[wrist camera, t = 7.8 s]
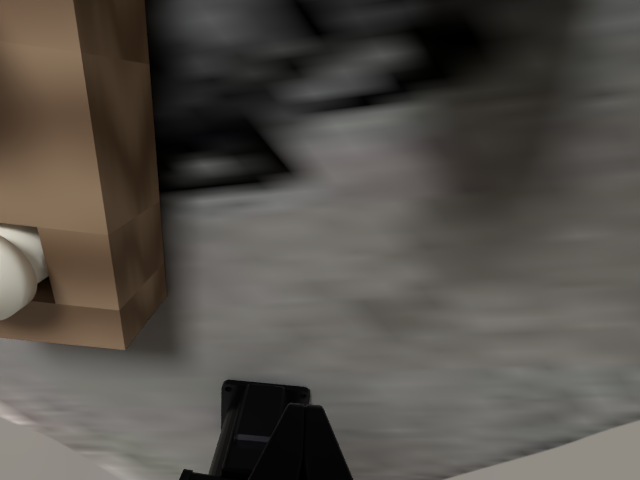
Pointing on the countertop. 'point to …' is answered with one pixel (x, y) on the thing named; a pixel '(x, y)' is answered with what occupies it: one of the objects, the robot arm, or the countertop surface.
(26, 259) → the cream plug
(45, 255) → the socket board
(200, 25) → the countertop surface
